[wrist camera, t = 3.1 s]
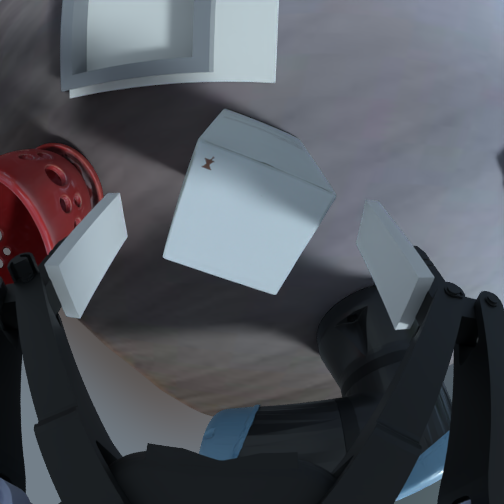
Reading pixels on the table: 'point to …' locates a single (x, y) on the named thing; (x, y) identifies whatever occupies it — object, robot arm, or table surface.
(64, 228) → the plant pot
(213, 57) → the plate
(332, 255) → the table surface
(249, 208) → the supplement box
